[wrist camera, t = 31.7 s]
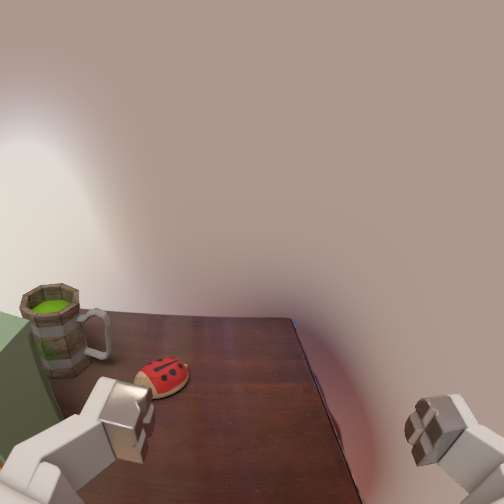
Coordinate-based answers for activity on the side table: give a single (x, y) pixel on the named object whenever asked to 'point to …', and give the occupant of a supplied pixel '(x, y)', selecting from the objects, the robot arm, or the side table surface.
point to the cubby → (22, 386)
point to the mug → (62, 329)
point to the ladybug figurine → (163, 376)
